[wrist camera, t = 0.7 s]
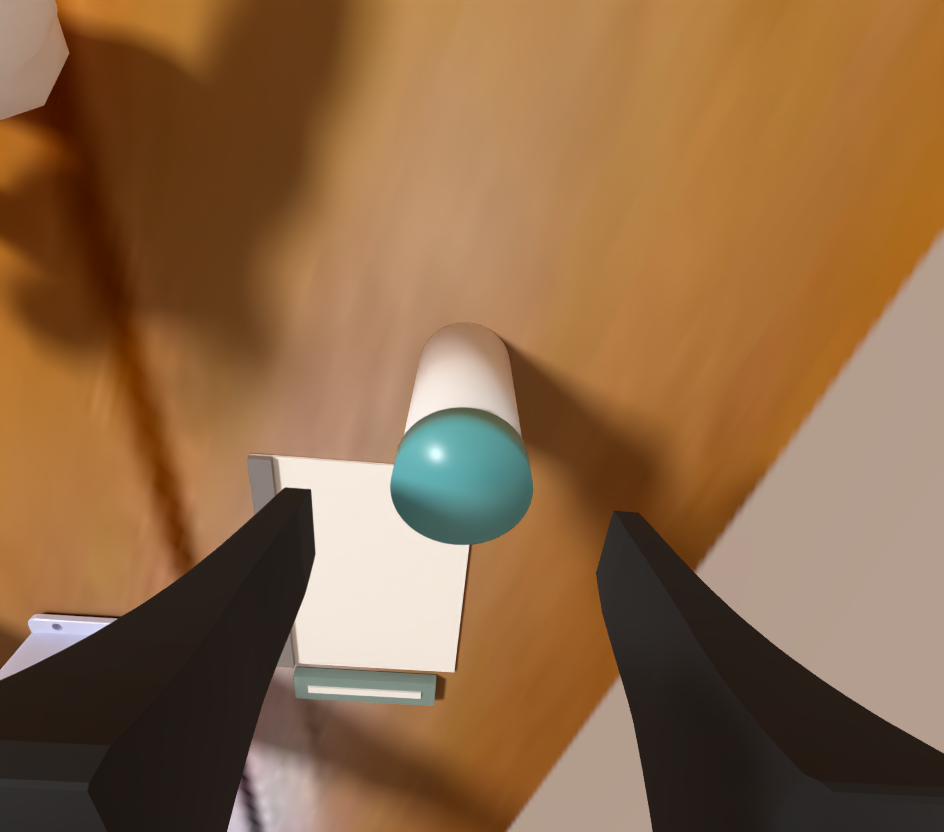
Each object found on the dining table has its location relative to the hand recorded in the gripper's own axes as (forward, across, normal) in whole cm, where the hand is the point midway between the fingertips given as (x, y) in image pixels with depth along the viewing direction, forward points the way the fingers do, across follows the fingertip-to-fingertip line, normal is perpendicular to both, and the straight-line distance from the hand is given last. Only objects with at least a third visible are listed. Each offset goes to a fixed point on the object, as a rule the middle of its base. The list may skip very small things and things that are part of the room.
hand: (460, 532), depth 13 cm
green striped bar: (+10, +4, +20) cm, 23 cm away
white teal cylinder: (+10, 0, 0) cm, 10 cm away
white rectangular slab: (+10, +4, +12) cm, 16 cm away
